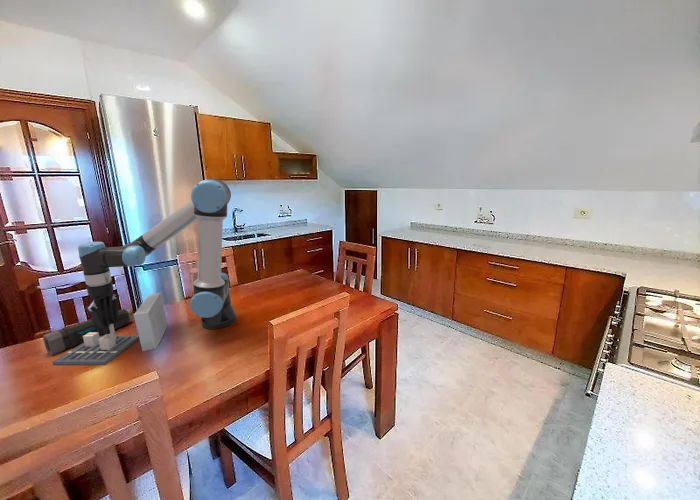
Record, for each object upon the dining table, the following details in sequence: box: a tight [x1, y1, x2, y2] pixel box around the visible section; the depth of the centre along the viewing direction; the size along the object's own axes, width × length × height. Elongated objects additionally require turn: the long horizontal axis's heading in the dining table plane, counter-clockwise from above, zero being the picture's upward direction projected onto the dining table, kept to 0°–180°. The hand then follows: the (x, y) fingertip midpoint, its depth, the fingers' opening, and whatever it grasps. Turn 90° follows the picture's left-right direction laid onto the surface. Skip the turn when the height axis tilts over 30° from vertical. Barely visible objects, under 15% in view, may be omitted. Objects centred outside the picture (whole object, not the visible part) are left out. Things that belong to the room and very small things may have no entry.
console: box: [52, 335, 140, 366], centre depth 116 cm, size 19×18×2 cm
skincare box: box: [133, 292, 169, 352], centre depth 124 cm, size 21×5×16 cm, turn 20°
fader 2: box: [98, 334, 116, 350], centre depth 115 cm, size 4×3×5 cm
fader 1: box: [83, 332, 100, 347], centre depth 117 cm, size 4×3×5 cm
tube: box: [42, 308, 134, 356], centre depth 126 cm, size 11×7×30 cm
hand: (111, 339), depth 117 cm, fingers closed
